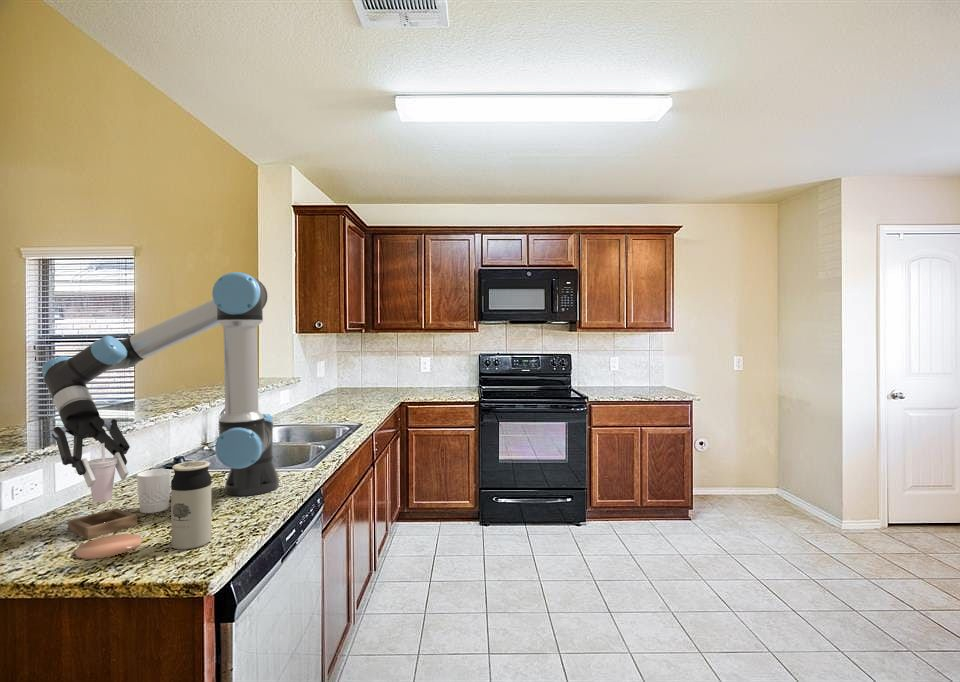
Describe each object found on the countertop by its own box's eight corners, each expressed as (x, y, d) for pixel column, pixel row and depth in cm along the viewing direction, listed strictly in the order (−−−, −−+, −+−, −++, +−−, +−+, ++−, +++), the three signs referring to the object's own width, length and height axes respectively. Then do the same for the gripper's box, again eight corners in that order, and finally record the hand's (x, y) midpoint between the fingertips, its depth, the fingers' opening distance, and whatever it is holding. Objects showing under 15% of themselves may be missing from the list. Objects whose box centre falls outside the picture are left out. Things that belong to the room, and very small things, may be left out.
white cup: (177, 507, 142) (177, 471, 142) (146, 516, 135) (146, 478, 135) (161, 502, 146) (161, 467, 146) (131, 511, 139) (130, 474, 139)
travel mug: (194, 534, 123) (194, 459, 123) (219, 539, 120) (219, 462, 120) (163, 547, 116) (162, 466, 116) (188, 552, 113) (188, 470, 113)
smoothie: (101, 505, 123) (99, 446, 123) (78, 503, 124) (77, 445, 124) (124, 496, 129) (123, 440, 129) (103, 495, 131) (102, 439, 130)
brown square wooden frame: (116, 517, 134) (116, 508, 134) (137, 525, 129) (136, 515, 129) (68, 530, 125) (68, 520, 125) (88, 539, 120) (88, 528, 120)
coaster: (151, 535, 122) (151, 532, 122) (125, 557, 110) (125, 553, 110) (95, 538, 120) (95, 535, 120) (62, 561, 108) (62, 557, 108)
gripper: (114, 412, 143) (146, 479, 135) (25, 423, 126) (55, 500, 118) (123, 394, 140) (156, 461, 132) (33, 402, 123) (65, 480, 115)
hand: (108, 479), depth 125 cm, fingers closed on smoothie, 6 cm apart
